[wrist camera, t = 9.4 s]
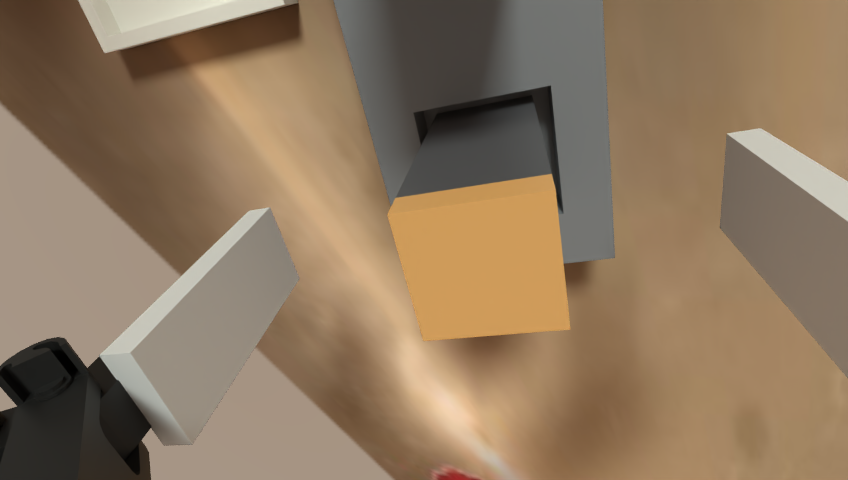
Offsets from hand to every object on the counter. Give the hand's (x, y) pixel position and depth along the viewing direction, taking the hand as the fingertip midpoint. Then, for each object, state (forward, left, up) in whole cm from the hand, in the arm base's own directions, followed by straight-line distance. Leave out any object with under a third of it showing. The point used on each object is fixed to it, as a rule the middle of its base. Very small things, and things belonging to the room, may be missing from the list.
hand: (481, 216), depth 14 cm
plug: (0, 0, -7) cm, 8 cm away
